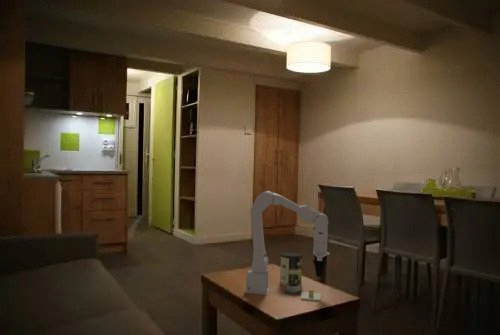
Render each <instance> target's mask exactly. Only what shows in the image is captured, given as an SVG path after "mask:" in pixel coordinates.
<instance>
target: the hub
mask: <svg viewBox="0 0 500 335" xmlns="http://www.w3.org/2000/svg"><path fill="white" fill-rule="evenodd" d="M314 291H315V290H314V289H313V288H310V289H308V292H307V291H302V292H301V295H300V300H301V301H307V302H308V301H309V302H317V303H318V302H319V303H321V300H322V293H318V292H317V293H316V292H314Z"/></svg>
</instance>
